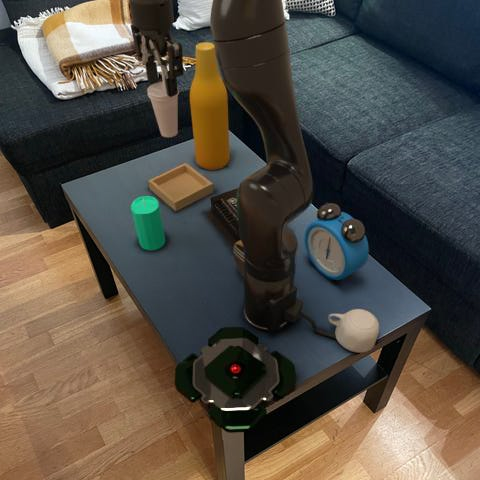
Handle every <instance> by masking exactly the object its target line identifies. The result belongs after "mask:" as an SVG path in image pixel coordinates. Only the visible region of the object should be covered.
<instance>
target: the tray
mask: <svg viewBox="0 0 480 480" xmlns="http://www.w3.org/2000/svg"><path fill="white" fill-rule="evenodd" d="M147 181H148V186H149V190H150V191H151V192H152V193H154V194H155V195H156V196H157V197H159V199H161V200H162V201H163V202H164V203H165V204H167V205H168V206H169V207H170V208H171V209H173V210H174V211H175V212H177V211H180V210H181V209H184V208H185V207H187V206H188V205H191V204H193V203H195V202H196V201H199V200H200V199H202V198H205V197H207V196H208V195H210V194H212V193H214V183H213V182H211V181H210V180H209V179H208V178H207V177H205V176H204V175H203V174H201V173H200V172H199V171H197V170H196V169H195V168H193V167H192V166H191V165H189V164H187V162H184V163H183V164H180V165H178V166H176V167H174V168H172V169H170V170H167V171H166V172H163V173H162V174H159V175H157V176H155V177H152V178H151V179H149V180H147Z"/></svg>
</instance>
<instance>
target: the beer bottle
mask: <svg viewBox="0 0 480 480" xmlns="http://www.w3.org/2000/svg"><path fill="white" fill-rule="evenodd" d="M194 67H195V69H194V70H195V71H194V77H193V79H192V82H191V86H190V89H189V105H190V115H191V124H192V134H193V144H194V157H195V161H196V163H197V165H198V166H199V167H200V168H202V169H204V170H210V171H214V170H215V171H217V170H220V169H223V168H224V167H226V166H227V165H228V164H229V162H230V157H231V154H230V152H231V151H230V135H229V134H230V131H229V127H230V126H229V103H228V101H229V100H228V92H227V86H226V85H225V83H224V81H223V78H222V76H221V74H220V72H219V71H220V70H219V65H218V59H217V54H216V50H215V45H214V43H212V42H207V41H206V42H205V41H204V42H199V43H197V44H196V45H195V65H194Z"/></svg>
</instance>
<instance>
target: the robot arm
mask: <svg viewBox="0 0 480 480" xmlns="http://www.w3.org/2000/svg"><path fill="white" fill-rule="evenodd" d="M128 3H129V9H130V15H131V20H132V24H130V30H131V34H132V39H133V43H134V49H135V53H136V56H137V58H138V59H142V60H141V62H142V64H143V65H144V66H145V73H146V78H147V83H148V84H150V85H152V84H154V83H158V82H159V81H160V79H159V73H158V67H160V68H161V67H162V70H163V72H164V75H165V84H166V91H167V95H168V96H169V97H172V96H175V95H177V94H178V90H179V87H178V88H177V86H178V77H180V76H183V75H184V57H183V55H184V54H183V53H184V52H183V45H182V42H180V41H179V42H177V43H176V42H175V41H173V38H172V35H171V31H170V29H171V26H172V25H173V24H174V21H175V19H174V18H175V17H174V8H173V0H128ZM284 10H285V9H284V5H283V0H212V4H211V9H210V18H209V19H210V30H211V37H212V40H213V44H214V46H215V52H216V59H217V64H218V69H219V71H220V76H221V79H222V81H223V83H224V85H225V87H226V89H227V90H228V91H229V92H230V94H231V95H232V96H233V98H234V99H235V100H236V101H237V102H238V104H239V105H240V106H241V107H242V108H243V110H244V111H245V112H246V113H247V114H248V115H249V116H250V117H251V118H252V120H253V121H254V123H255V124H256V125H257V128H258V129H259V132H260V134H261V138H262V141H263V145H264V151H265V157H266V165H264V166H263V167H261V168H259V170H257V171H255V172H254V173H252V174H251V175H249V176H248V177H246V178H245V179H243V180H242V181H241V182H240V183H239V185H238V187H237V188H238V191H237V214H238V225H239V234H240V239H241V242H242V244H243V247H244V277H243V283H244V284H243V285H244V289H243V290H244V291H243V293H244V295H243V296H244V308H243V314H244V315H243V316H244V318H245V321H246V322H247V323H248V324H249V326H251V327H252V328H253V329H256V330H258V331H261V332H267V333H269V334H270V335H274V334H275V333H277V332H278V331H280V330H281V329H282V328H284V327H285V326H286V325H288V324H290V323H293V324H295V323H296V322H297V320H298V318H299V316H301V317H302V318H304V319H305V320H307V321H308V322H309V323H310V324H311V326H312V330H313V331H314V332H316V333H317V334H319V335H321V336H324V337H327V338H332V339H334V340H337V339H336V335H335V333H331V332H328V331H324V330H322V329H320V328H318V325H317V323H316V321H315V319H313V318H312V317H311V316H310V315H308V314H307V313H305V312H304V311H302V310H303V307H304V300H302V299H299V298H297V296H298V287H297V286H296V285H295V277H296V267H297V259H298V251H299V250H298V249H299V241H298V237H297V235H296V234H295V232H294V231H293V230H292V229H291V228H289V227H287V225H289V224H290V223H291V222H293V221H294V220H295V219H297V218H298V217H299V216H301V215H302V214H303V213H305V212H306V211H307V209H309V208H310V206H311V205H312V202H313V199H314V182H313V176H312V170H311V167H310V166H311V165H310V162H309V158H308V154H307V150H306V146H305V142H304V138H303V133H302V128H301V123H300V118H299V111H298V105H297V99H296V93H295V87H294V81H293V74H292V64H291V55H290V46H289V39H288V38H289V37H288V32H287V23H286V16H285V11H284ZM165 57H167V58H166V59H163V58H165ZM167 64H168V66H167ZM157 65H158V66H157ZM178 95H179V94H178Z"/></svg>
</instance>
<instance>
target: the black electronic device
mask: <svg viewBox="0 0 480 480" xmlns="http://www.w3.org/2000/svg"><path fill="white" fill-rule="evenodd" d="M238 188H239V187H236V188H233V189H231V190H228V191H225V192H222V193H219V194H216V195H213V196H211V197H209V201H210V210H209V211H206V212H205V213H204V214H205V215H206V217H207V218H208V220H209V221H210V222H211V223H212V224H213V226H214V227H215V229H216V230H217V231H218V233H219V234H220V235H221V236H222V238H223V239H224V240H225V242H226V243H227V244H228V245H229V246H230V248H231V249H232V250H233V248H234V245H235V243H236V242H238V241H240V240H241V239H240V234H239V225H238V214H237V191H238Z"/></svg>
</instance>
